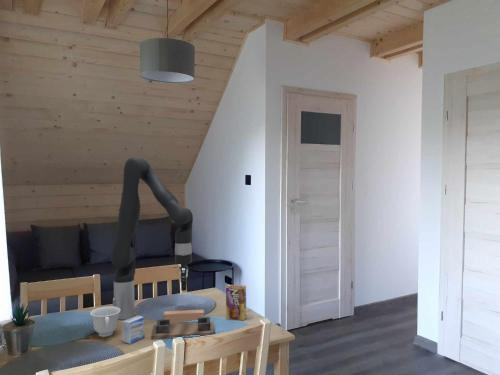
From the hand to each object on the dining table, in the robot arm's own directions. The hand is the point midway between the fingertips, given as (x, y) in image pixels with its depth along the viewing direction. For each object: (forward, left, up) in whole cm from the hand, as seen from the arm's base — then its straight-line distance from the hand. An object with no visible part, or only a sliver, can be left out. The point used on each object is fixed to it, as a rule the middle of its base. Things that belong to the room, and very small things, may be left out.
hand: (184, 287), depth 187 cm
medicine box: (-20, -18, -16) cm, 31 cm away
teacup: (-32, -12, -16) cm, 38 cm away
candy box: (+24, 0, -16) cm, 29 cm away
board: (0, -13, -15) cm, 20 cm away
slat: (0, 0, -16) cm, 16 cm away
